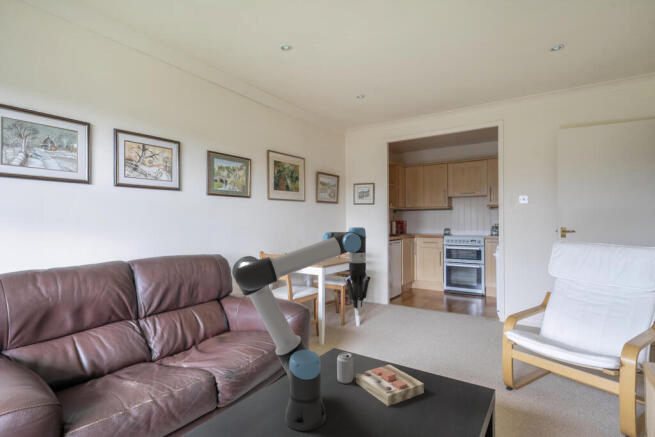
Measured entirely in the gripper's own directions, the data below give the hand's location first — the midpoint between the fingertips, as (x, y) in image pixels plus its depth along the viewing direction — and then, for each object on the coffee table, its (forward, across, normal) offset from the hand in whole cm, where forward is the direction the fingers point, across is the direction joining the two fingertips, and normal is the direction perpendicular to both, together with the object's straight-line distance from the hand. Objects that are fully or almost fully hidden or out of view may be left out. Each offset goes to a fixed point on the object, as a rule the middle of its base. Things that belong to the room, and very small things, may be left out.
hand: (357, 315), depth 144 cm
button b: (+30, +12, -6) cm, 33 cm away
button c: (+31, +12, +1) cm, 33 cm away
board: (+32, +12, -6) cm, 35 cm away
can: (+33, -1, +9) cm, 34 cm away
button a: (+31, +12, -13) cm, 36 cm away
